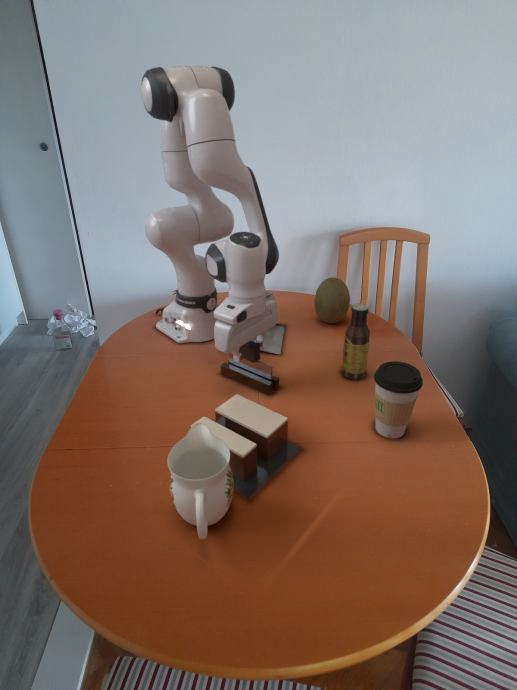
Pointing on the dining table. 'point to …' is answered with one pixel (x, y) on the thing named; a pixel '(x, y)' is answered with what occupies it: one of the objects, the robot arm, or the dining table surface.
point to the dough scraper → (252, 361)
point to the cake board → (257, 438)
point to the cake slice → (235, 449)
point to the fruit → (332, 300)
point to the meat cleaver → (273, 339)
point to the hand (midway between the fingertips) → (248, 353)
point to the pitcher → (200, 478)
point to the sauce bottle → (356, 343)
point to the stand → (250, 378)
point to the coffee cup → (395, 396)
